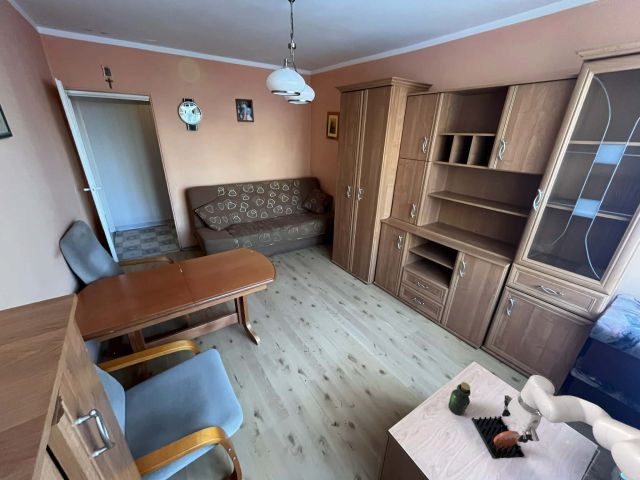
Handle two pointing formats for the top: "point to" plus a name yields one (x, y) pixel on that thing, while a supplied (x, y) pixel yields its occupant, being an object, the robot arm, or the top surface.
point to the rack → (490, 431)
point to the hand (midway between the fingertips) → (513, 427)
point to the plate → (506, 439)
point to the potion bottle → (460, 399)
